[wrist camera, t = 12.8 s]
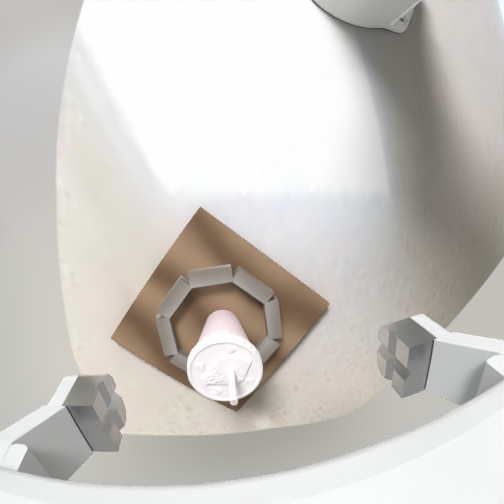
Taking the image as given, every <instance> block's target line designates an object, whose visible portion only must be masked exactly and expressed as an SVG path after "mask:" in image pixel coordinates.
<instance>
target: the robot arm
mask: <svg viewBox="0 0 504 504" xmlns="http://www.w3.org/2000/svg"><path fill="white" fill-rule="evenodd" d="M314 1H315V2H316V3H317V4H318V5H319V6H320V7H322V8H323V9H324V10H326V11H327V12H328V13H330V14H332V15H333V16H335V17H337V18H339V19H341V20H343V21H345V22H347V23H350V24H353V25H356V26H360V27H366V28H386V29H388V30H391V31H394V32H397V33H403V32H404V31H405V30H406V29H407V27H408V24H409V21H410V19H411V16H412V13H413V11H414V8H415V6H416V5H417V4H419V3H420V2H421V1H422V0H314ZM400 20H401V21H400ZM378 340H379V341H380V342H381V346H380V348H379V349H378V351H377V363H378V368H379V370H380V372H381V374H382V375H383V376H384V378H386V379H389V380H392V387H393V388H394V390H395V391H396V392H397V393H398V394H399V395H400V397H401V398H404V397H407V396H410V395H412V394H415V393H418V392H420V391H423V390H425V391H427V392H429V393H432V394H434V395H437V396H439V397H441V398H444V399H446V400H449V401H451V402H453V403H456V404H459V405H461V406H459V407H457V408H455V409H453V410H452V411H450V412H448V413H446V414H444V415H442V416H440V417H438V418H436V419H434V420H432V421H430V422H428V423H425V424H423V425H421V426H419V427H417V428H415V429H412V430H410V431H408V432H405V433H403V434H400V435H398V436H396V437H393V438H391V439H388V440H386V441H383V442H380V443H378V444H375V445H372V446H369V447H367V448H364V449H361V450H358V451H355V452H352V453H349V454H346V455H343V456H339V457H336V458H332V459H329V460H325V461H322V462H318V463H314V464H311V465H307V466H303V467H299V468H295V469H290V470H286V471H281V472H276V473H272V474H266V475H260V476H255V477H249V478H242V479H235V480H228V481H220V482H210V483H199V484H185V485H162V486H132V485H108V484H95V483H85V482H75V481H68V479H69V478H70V477H71V476H72V475H73V473H74V472H75V471H76V470H77V469H78V468H79V467H80V466H81V465H82V464H83V463H84V462H85V461H86V460H87V459H88V458H89V457H90V456H91V455H92V454H93V451H101V452H102V451H103V452H109V451H118V450H119V446H120V442H121V438H122V435H121V433H120V431H119V430H120V429H122V428H123V427H124V426H125V422H126V409H125V405H124V402H123V400H122V398H121V397H120V396H119V395H118V394H117V393H115V392H114V391H115V388H116V384H115V382H114V380H113V378H112V376H110V375H109V374H102V375H73V376H72V375H70V376H66V377H64V379H63V381H62V382H61V384H60V385H59V387H58V389H57V390H56V392H55V394H54V395H53V397H52V399H51V400H50V402H49V404H48V406H47V405H44V406H42V407H40V408H39V409H37V410H36V411H34V412H33V413H31V414H29V415H28V416H26V417H24V418H23V419H21V420H19V421H18V422H16V423H15V424H13V425H11V426H10V427H8V428H6V429H5V430H3V431H2V432H0V504H504V340H500V339H493V338H487V337H481V336H474V335H469V334H463V333H458V332H452V333H449V332H448V331H447V330H445V329H444V328H442V327H441V326H440V325H438V324H437V323H435V322H434V321H432V320H431V319H429V318H428V317H427V316H425V315H424V314H417V315H414V316H412V317H409V318H407V319H404V320H401V321H398V322H394V323H391V324H388V325H385V326H382V327H380V329H379V332H378Z"/></svg>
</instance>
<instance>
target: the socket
mask: <svg viewBox="0 0 504 504" xmlns="http://www.w3.org/2000/svg"><path fill="white" fill-rule="evenodd" d="M328 306H329V303H328V302H327V301H326V300H325V299H324V298H322V297H321V296H320V295H318V294H317V293H316V292H314V291H313V290H312V289H310V288H309V287H308V286H306V285H305V284H304V283H302V282H301V281H300V280H298V279H297V278H295V277H294V276H293V275H291V274H290V273H289V272H287V271H286V270H285V269H283V268H282V267H281V266H279V265H278V264H277V263H275V262H274V261H273V260H271V259H270V258H269V257H267V256H266V255H265V254H263V253H262V252H261V251H259V250H258V249H257V248H255V247H254V246H253V245H251V244H250V243H249V242H247V241H246V240H245V239H243V238H242V237H240V236H239V235H238V234H236V233H235V232H234V231H232V230H231V229H230V228H228V227H227V226H226V225H224V224H223V223H222V222H220V221H219V220H218V219H216V218H215V217H214V216H212V215H211V214H209V213H208V212H207V211H205V210H204V209H203V208H201V207H200V208H199V209H198V211H197V212H196V213H195V215H194V216H193V218H192V219H191V220H190V222H189V223H188V224H187V226H186V227H185V229H184V230H183V231H182V233H181V234H180V235H179V237H178V238H177V240H176V241H175V242H174V244H173V245H172V247H171V248H170V250H169V251H168V252H167V254H166V255H165V257H164V258H163V260H162V261H161V262H160V264H159V265H158V267H157V268H156V270H155V271H154V273H153V274H152V276H151V277H150V279H149V280H148V281H147V283H146V284H145V286H144V287H143V289H142V290H141V292H140V293H139V295H138V296H137V298H136V299H135V301H134V303H133V304H132V306H131V307H130V309H129V310H128V312H127V313H126V315H125V316H124V318H123V320H122V321H121V323H120V324H119V326H118V327H117V329H116V331H115V332H114V334H113V335H112V337H111V339H112V340H114V341H115V342H117V343H118V344H120V345H121V346H123V347H124V348H126V349H127V350H129V351H130V352H132V353H133V354H135V355H137V356H138V357H140V358H141V359H143V360H144V361H146V362H148V363H149V364H151V365H152V366H154V367H156V368H157V369H159V370H161V371H162V372H164V373H166V374H167V375H169V376H171V377H173V378H174V379H176V380H178V381H180V382H181V383H183V384H185V385H187V386H188V387H190V388H192V389H194V387H193V386H192V385H191V383H190V381H189V379H188V375H187V361H188V356H189V354H190V352H191V350H192V349H193V348H194V347H195V346H196V345H197V343H198V341H199V338H200V336H201V333H202V331H203V328H204V326H205V323H206V321H207V318H208V317H209V315H210V314H211V313H213V312H215V311H217V310H228V311H231V312H232V313H234V314H235V315H236V316H237V318H238V320H239V322H240V324H241V326H242V328H243V330H244V332H245V334H246V336H247V338H248V340H249V342H250V343H251V344H253V345H254V346H255V348H256V349H257V350H258V352H259V354H260V356H261V359H262V365H263V375H262V379H261V381H260V383H259V385H258V386H257V387H256V389H255V390H254V391H253V392H251V393H250V394H249V395H247V396H245V397H243V398H241V399H238V404H237V405H231V404H230V401H217V400H215V401H217V402H218V403H220V404H222V405H224V406H226V407H228V408H230V409H232V410H235V411H238V410H239V408H240V407H241V406H242V405H243V404H244V403H245V402H246V401H247V400H248V399H249V398H250V397H251V396H252V395H253V394H254V392H255V391H256V390H257V389H258V388H259V387H260V386H261V385H262V384H263V383H264V382H265V380H266V379H267V378H268V377H269V376H270V375H271V374H272V373H273V371H274V370H275V369H276V368H277V367H278V366H279V365H280V363H281V362H282V361H283V360H284V359H285V358H286V357H287V355H288V354H289V353H290V352H291V351H292V350H293V348H294V347H295V346H296V345H297V344H298V342H299V341H300V340H301V339H302V338H303V336H304V335H305V334H306V333H307V332H308V330H309V329H310V328H311V327H312V326H313V324H314V323H315V322H316V321H317V319H318V318H319V317H320V316H321V314H322V313H323V312H324V311H325V309H326V308H327V307H328ZM194 390H195V389H194Z"/></svg>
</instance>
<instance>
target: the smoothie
mask: <svg viewBox="0 0 504 504" xmlns="http://www.w3.org/2000/svg"><path fill="white" fill-rule="evenodd" d="M187 375H188V379H189V381H190V383H191V385H192V386H193V387H194V389H195V390H196V391H197V392H199V393H200V394H201V395H203V396H205V397H207V398H209V399H212V400H217V401H230V404H231V405H237V404H238V399H241V398H243V397H245V396H247V395H249V394H250V393H251V392H253V391H254V390H255V389H256V387H257V386H258V385H259V383H260V381H261V379H262V375H263V365H262V359H261V356H260V354H259V352H258V350H257V349H256V348H255V346H254V345H253V344H251V343H250V342H249V340H248V338H247V336H246V334H245V332H244V330H243V328H242V326H241V324H240V322H239V320H238V318H237V316H236V315H235V314H234V313H232V312H231V311H228V310H217V311H215V312H213V313H211V314H210V315H209V317H208V318H207V321H206V323H205V326H204V328H203V331H202V333H201V336H200V338H199V341H198V343H197V345H196V346H195V347H194V348H193V349H192V350H191V352H190V354H189V356H188V361H187Z"/></svg>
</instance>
